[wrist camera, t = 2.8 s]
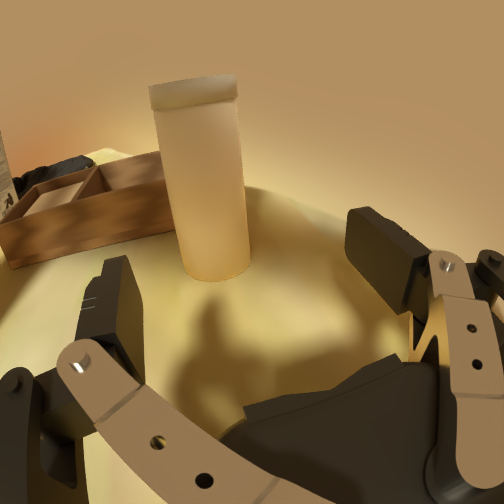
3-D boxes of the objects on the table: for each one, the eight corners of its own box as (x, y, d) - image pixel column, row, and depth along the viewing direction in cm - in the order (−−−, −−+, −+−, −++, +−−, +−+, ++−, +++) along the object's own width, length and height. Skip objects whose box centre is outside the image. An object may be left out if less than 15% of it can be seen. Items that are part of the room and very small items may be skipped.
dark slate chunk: (93, 177, 50) (87, 153, 48) (-4, 214, 43) (-11, 192, 40) (95, 161, 62) (90, 142, 59) (14, 191, 54) (8, 172, 52)
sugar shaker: (186, 289, 21) (145, 86, 14) (180, 249, 25) (150, 86, 18) (260, 272, 22) (245, 72, 15) (242, 236, 26) (226, 74, 19)
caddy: (11, 269, 25) (-7, 229, 22) (44, 217, 36) (33, 185, 33) (184, 227, 29) (175, 178, 26) (177, 184, 39) (171, 148, 37)
